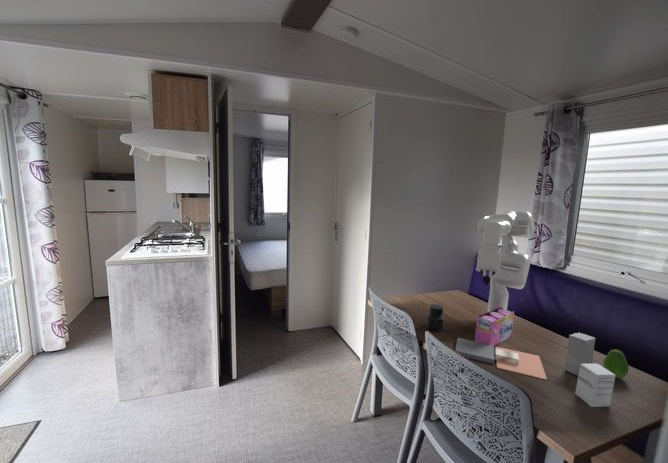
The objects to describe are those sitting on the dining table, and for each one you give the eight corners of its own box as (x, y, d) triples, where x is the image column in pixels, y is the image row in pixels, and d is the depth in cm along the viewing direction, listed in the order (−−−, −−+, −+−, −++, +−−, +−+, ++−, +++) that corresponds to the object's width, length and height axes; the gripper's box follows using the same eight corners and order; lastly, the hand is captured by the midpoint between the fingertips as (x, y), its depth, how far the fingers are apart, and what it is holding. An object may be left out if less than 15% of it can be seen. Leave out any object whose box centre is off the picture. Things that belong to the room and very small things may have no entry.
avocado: (596, 371, 139) (601, 345, 137) (614, 371, 139) (619, 345, 137) (613, 383, 131) (618, 355, 129) (632, 383, 131) (637, 355, 129)
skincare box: (581, 378, 133) (587, 341, 131) (562, 369, 140) (567, 334, 137) (591, 373, 137) (598, 338, 135) (573, 364, 143) (578, 330, 141)
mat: (495, 347, 156) (495, 346, 156) (539, 356, 149) (539, 355, 149) (496, 368, 138) (497, 367, 138) (546, 380, 131) (546, 379, 131)
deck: (457, 341, 160) (457, 337, 160) (493, 349, 154) (493, 345, 154) (454, 354, 148) (455, 350, 148) (494, 363, 141) (494, 359, 141)
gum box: (498, 330, 175) (501, 306, 173) (513, 336, 169) (516, 311, 167) (473, 342, 161) (476, 315, 159) (489, 349, 154) (492, 321, 152)
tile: (495, 359, 144) (495, 354, 144) (494, 353, 150) (495, 348, 149) (518, 365, 141) (519, 359, 140) (517, 358, 146) (517, 353, 146)
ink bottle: (442, 325, 178) (444, 304, 176) (445, 332, 170) (448, 310, 168) (423, 323, 179) (425, 303, 177) (426, 331, 170) (428, 309, 169)
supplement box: (574, 394, 123) (579, 363, 121) (592, 393, 123) (598, 362, 122) (591, 407, 116) (597, 374, 114) (610, 407, 116) (616, 374, 114)
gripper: (507, 247, 156) (502, 284, 159) (473, 243, 162) (469, 279, 165) (508, 250, 149) (503, 288, 152) (473, 246, 155) (469, 283, 158)
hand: (486, 283), depth 158 cm, fingers closed
